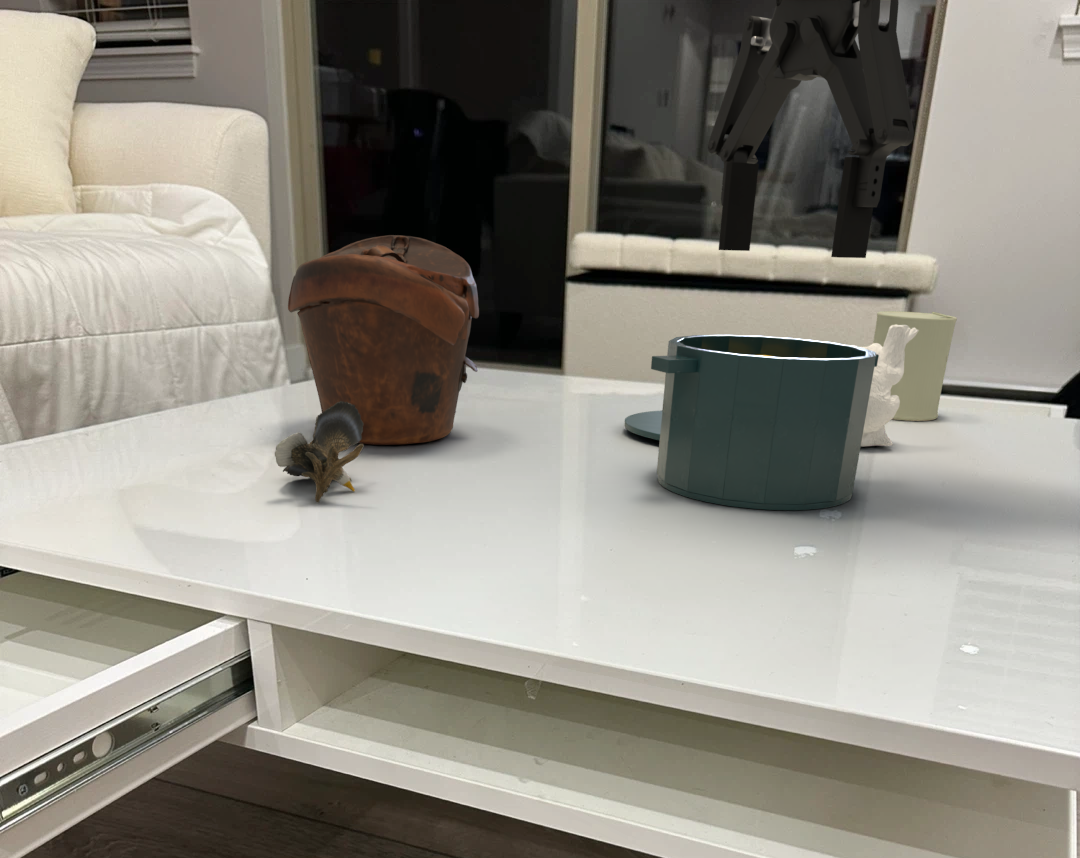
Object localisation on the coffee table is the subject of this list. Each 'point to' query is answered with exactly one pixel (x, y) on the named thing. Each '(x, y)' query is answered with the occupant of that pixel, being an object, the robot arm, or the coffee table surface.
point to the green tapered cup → (919, 361)
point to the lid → (645, 424)
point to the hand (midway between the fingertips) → (787, 254)
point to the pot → (762, 420)
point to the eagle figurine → (324, 448)
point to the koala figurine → (885, 384)
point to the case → (389, 333)
